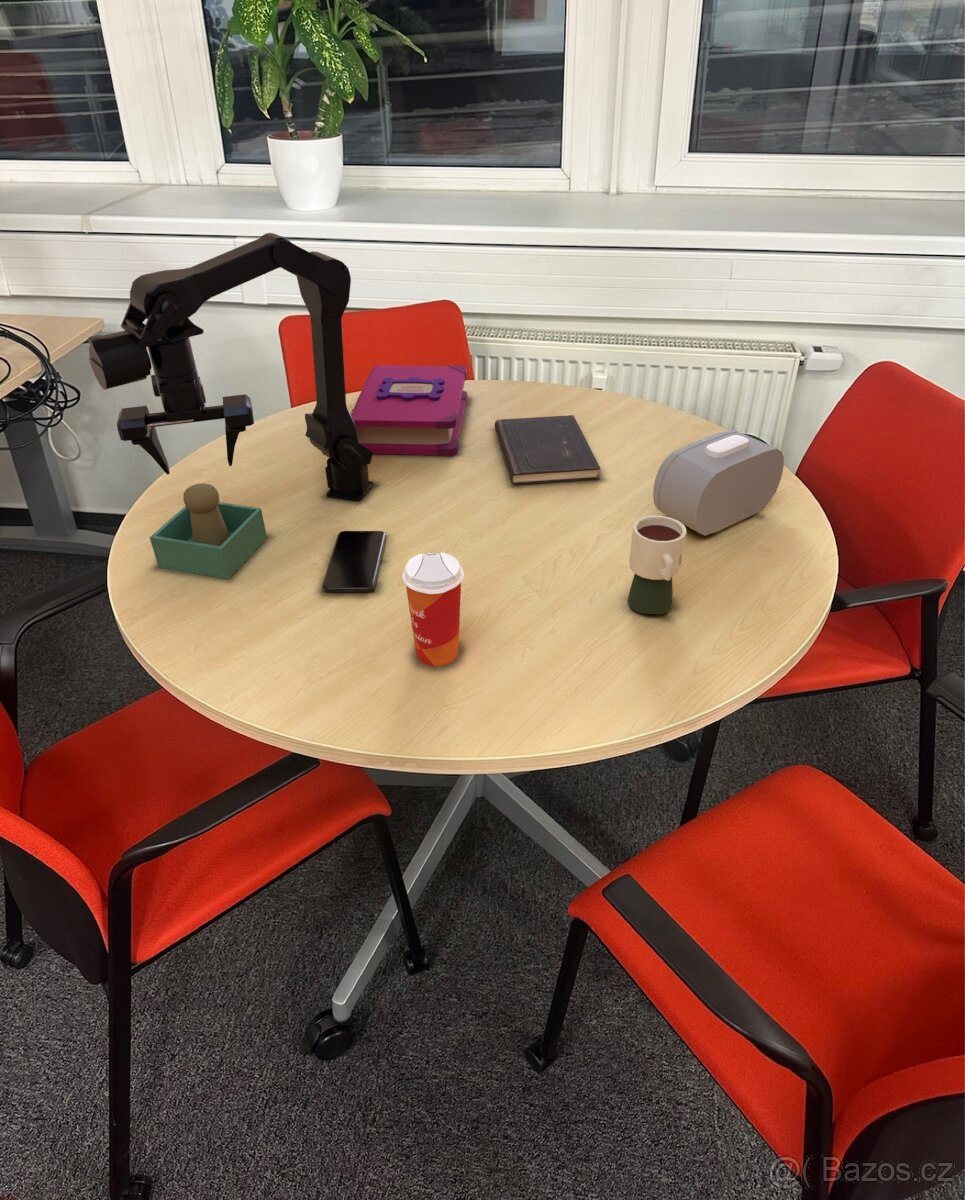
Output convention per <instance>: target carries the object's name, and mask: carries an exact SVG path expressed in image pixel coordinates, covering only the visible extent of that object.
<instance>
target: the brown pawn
mask: <svg viewBox="0 0 965 1200" xmlns="http://www.w3.org/2000/svg"><path fill="white" fill-rule="evenodd" d="M182 496H183V499H182V500H183V501H182V502H183V504H184V507H185V506H186V507H187V509H189V510H190V516H191V526H192V536H193V542H196V543H202V544H208V545H214V546H221V545H222V544H223V543H224V542H225V541H226V540H227V539H228V538H229V537H230V536H229V533H228V530H227V528H226V525H225V523H224V520H223V518H222V515H221V513H220V510H219V508H218V503H219V502H220V493H219V491H218V489H217V488H216V487H215V486H214V485H213V484H210V483H205V482H204V483H203V482H200V483H195V484H192V485H190V486H189V487H187V488H186V489H185V490H184V492H183V495H182Z"/></svg>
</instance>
